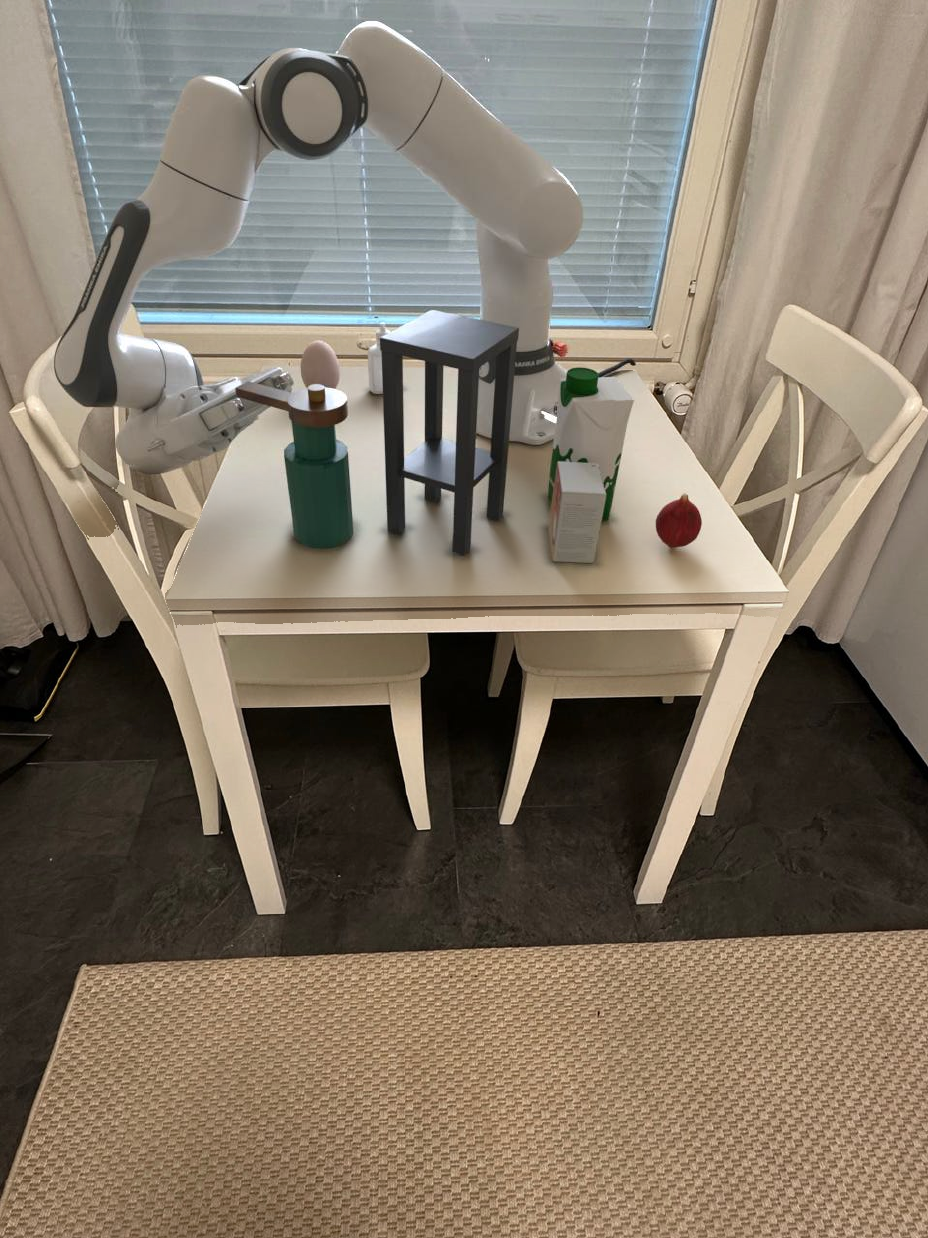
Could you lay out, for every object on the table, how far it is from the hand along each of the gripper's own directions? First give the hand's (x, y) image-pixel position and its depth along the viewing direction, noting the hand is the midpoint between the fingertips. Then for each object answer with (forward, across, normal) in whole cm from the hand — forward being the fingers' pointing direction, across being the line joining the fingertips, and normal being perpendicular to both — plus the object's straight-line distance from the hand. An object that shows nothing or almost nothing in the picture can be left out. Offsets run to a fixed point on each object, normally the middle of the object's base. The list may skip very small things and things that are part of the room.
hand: (263, 392), depth 93 cm
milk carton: (+21, +24, +33) cm, 46 cm away
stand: (+8, +10, +26) cm, 29 cm away
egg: (-26, +36, +6) cm, 45 cm away
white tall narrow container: (-19, +44, +10) cm, 49 cm away
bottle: (-3, 0, +19) cm, 19 cm away
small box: (+23, +14, +34) cm, 44 cm away
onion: (+34, +21, +40) cm, 57 cm away
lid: (+3, 0, +3) cm, 4 cm away
